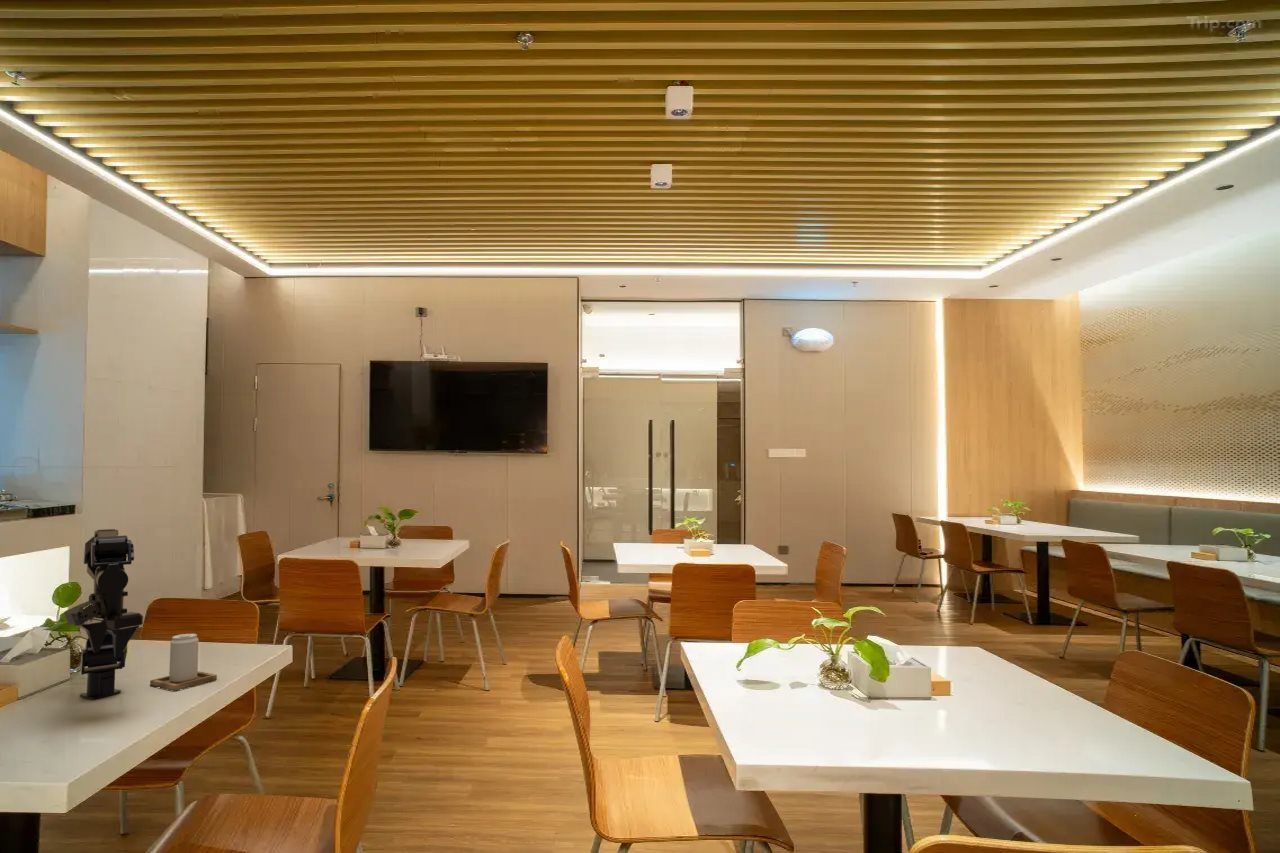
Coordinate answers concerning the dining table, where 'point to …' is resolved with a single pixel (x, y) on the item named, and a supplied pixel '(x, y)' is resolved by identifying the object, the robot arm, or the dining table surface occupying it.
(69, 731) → the dining table surface
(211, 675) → the tray
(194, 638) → the beverage can
